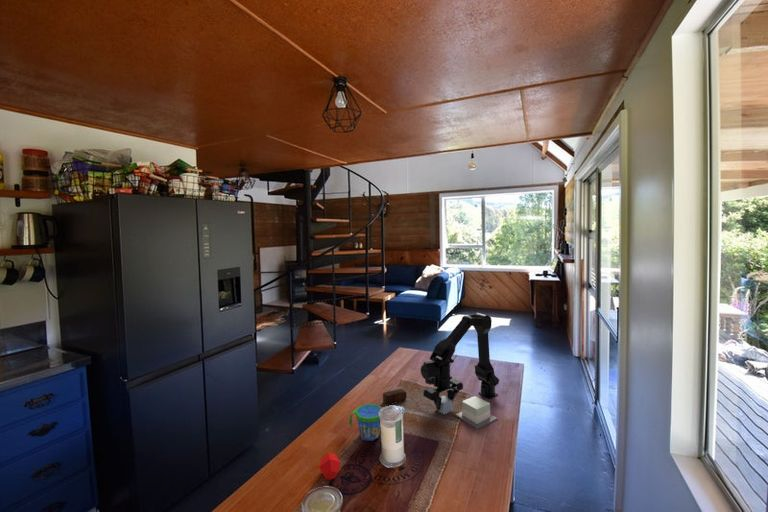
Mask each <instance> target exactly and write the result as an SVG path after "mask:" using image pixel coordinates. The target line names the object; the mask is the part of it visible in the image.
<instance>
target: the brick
mask: <svg viewBox="0 0 768 512" xmlns="http://www.w3.org/2000/svg"><path fill="white" fill-rule="evenodd" d="M407 397H408V396H407V391H406V390H405V389H403V388H397V389H394V390H390V391H386V392H383V393H382V402H383V403H384V404H385V405H386V406H389V405H390V406H391V405H393V404H392V403H394V404H396V403H395V402H398V403H400V401H401V402H404V401H406V400H407ZM387 404H388V405H387Z"/></svg>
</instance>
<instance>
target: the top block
mask: <svg viewBox="0 0 768 512" xmlns="http://www.w3.org/2000/svg"><path fill="white" fill-rule="evenodd" d="M440 397H441V398H442V400H441V405H440V410H439V411H440V412H441V413H440V412H439V413H440V414H442V413H443V414H444V415H446V414H449V413H451V412H452V411H453V402H452V400H451V399H449V398H448V396H445V395H442V396H440ZM450 411H451V412H450ZM448 412H449V413H448ZM445 413H446V414H445ZM443 414H442V415H443Z"/></svg>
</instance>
